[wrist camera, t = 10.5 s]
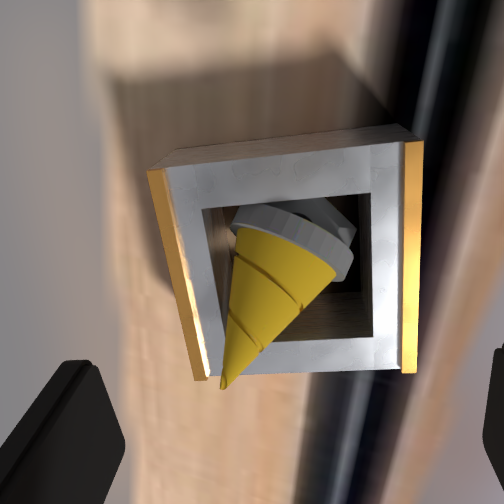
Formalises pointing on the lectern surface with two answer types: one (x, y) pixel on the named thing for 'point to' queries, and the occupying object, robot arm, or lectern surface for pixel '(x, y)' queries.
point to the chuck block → (293, 188)
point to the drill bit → (280, 271)
